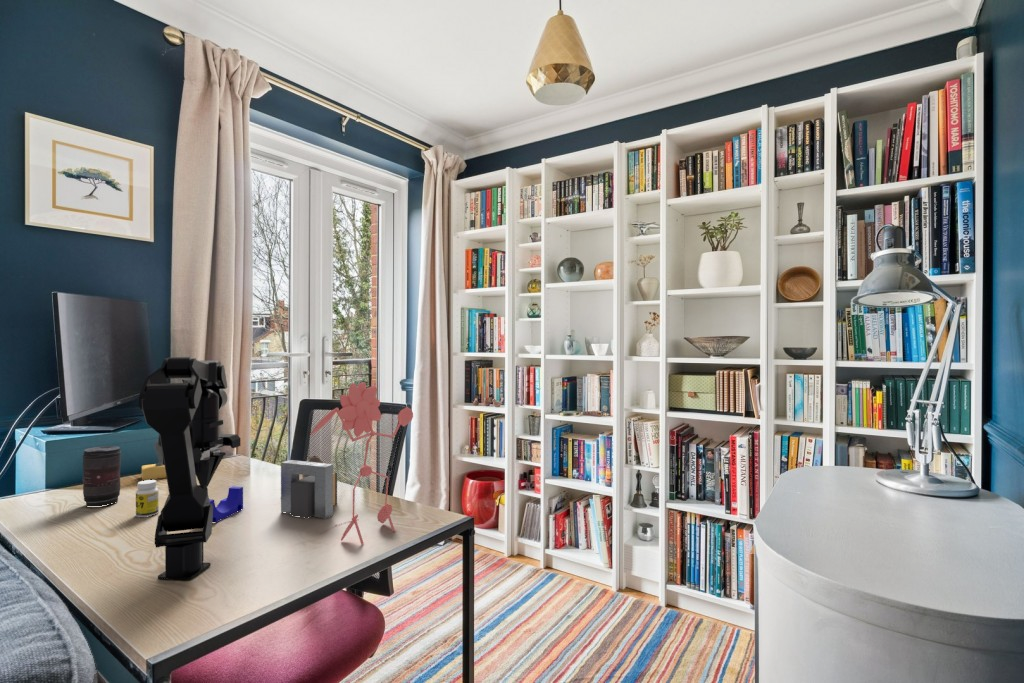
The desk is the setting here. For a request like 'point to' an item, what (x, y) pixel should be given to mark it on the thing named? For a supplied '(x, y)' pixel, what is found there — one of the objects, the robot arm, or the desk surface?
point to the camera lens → (101, 475)
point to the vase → (313, 459)
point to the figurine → (359, 416)
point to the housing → (322, 485)
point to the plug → (307, 496)
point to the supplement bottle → (147, 498)
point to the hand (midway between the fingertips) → (204, 487)
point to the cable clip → (228, 504)
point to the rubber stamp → (154, 466)
